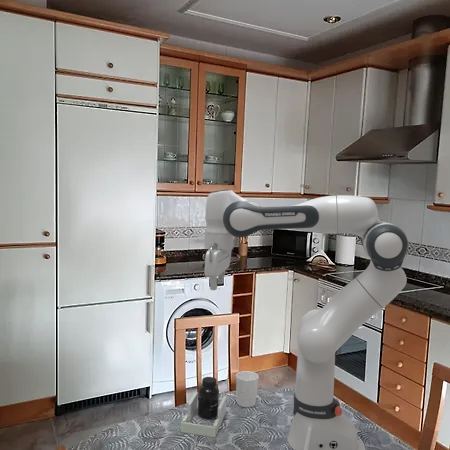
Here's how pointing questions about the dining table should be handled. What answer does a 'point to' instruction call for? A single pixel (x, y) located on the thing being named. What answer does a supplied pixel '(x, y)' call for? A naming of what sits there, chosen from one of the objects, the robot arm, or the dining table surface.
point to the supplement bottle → (208, 398)
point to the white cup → (246, 388)
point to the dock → (199, 428)
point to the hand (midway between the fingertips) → (217, 286)
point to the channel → (194, 402)
